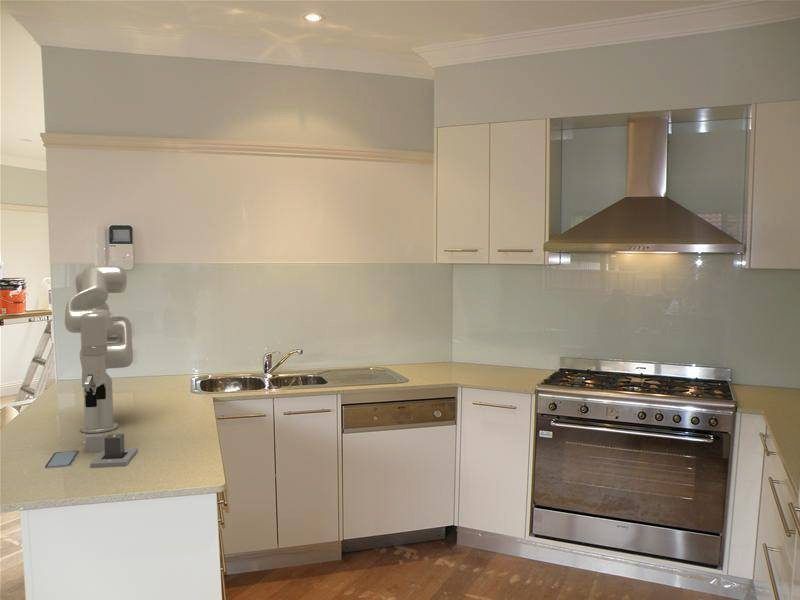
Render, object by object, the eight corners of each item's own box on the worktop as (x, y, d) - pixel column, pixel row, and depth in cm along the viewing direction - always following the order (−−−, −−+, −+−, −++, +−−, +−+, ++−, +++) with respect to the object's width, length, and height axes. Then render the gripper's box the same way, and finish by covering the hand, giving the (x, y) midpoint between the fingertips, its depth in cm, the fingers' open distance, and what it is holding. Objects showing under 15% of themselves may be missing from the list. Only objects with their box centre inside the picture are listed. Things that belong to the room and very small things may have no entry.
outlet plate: (104, 453, 199) (104, 449, 198) (137, 451, 200) (137, 447, 200) (90, 467, 185) (90, 463, 185) (125, 465, 186) (125, 461, 186)
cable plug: (85, 449, 203) (84, 434, 203) (105, 448, 204) (105, 433, 204) (81, 452, 199) (81, 437, 199) (102, 451, 200) (101, 436, 200)
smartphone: (43, 467, 184) (54, 452, 198) (43, 470, 184) (54, 454, 198) (71, 465, 186) (79, 449, 200) (71, 467, 186) (79, 452, 200)
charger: (109, 456, 194) (108, 434, 194) (124, 455, 195) (123, 433, 195) (104, 460, 190) (104, 438, 190) (120, 460, 191) (119, 437, 190)
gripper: (90, 346, 207) (92, 396, 208) (72, 356, 190) (74, 410, 191) (114, 346, 208) (115, 396, 210) (98, 355, 191) (100, 409, 193)
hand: (96, 403), depth 201 cm, fingers open, 9 cm apart
